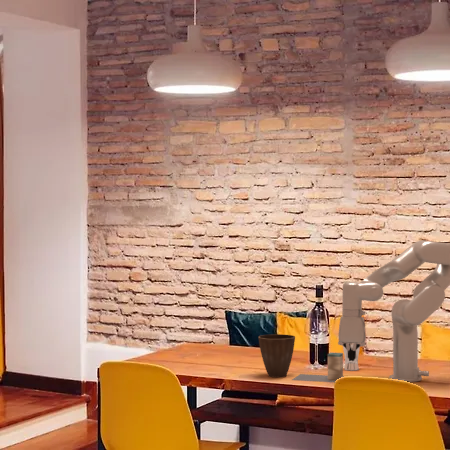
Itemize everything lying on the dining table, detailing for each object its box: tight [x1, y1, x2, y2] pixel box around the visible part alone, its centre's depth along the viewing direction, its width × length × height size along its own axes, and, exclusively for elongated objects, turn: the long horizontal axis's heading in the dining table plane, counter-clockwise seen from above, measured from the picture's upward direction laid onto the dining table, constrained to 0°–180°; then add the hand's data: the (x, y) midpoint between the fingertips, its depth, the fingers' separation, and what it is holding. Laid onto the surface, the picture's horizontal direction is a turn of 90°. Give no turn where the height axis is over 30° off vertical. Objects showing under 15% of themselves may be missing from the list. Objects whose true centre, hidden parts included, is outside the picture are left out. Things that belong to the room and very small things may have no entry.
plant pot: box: [258, 333, 296, 378], centre depth 400 cm, size 15×15×16 cm
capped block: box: [327, 352, 344, 380], centre depth 388 cm, size 5×5×10 cm
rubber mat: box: [291, 373, 344, 383], centre depth 390 cm, size 22×14×1 cm, turn 71°
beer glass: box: [342, 343, 361, 372], centre depth 413 cm, size 7×7×15 cm
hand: (351, 360), depth 386 cm, fingers closed
